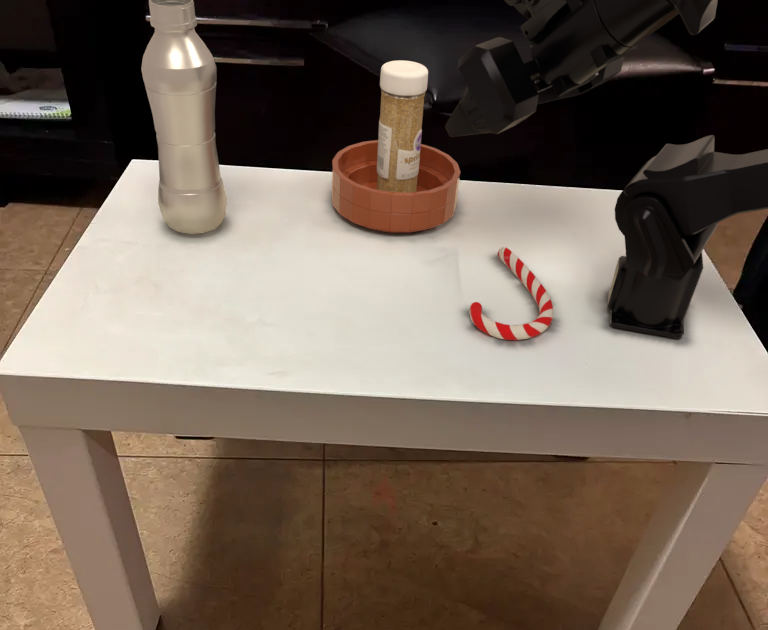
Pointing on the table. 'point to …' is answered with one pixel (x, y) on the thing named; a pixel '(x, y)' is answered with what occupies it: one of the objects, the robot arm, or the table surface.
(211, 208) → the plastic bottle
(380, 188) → the sprinkles bottle
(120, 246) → the table surface
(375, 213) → the bowl
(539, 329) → the candy cane
